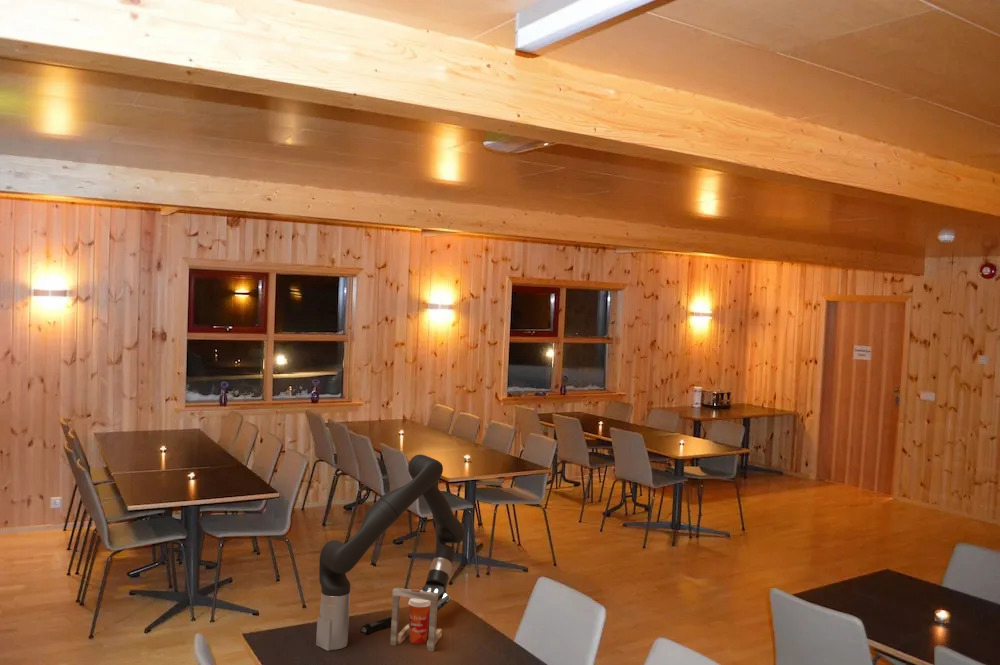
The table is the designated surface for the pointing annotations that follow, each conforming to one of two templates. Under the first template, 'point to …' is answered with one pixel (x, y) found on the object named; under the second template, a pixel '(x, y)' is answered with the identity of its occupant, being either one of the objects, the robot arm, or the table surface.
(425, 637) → the paper cup
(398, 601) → the guide arch
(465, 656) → the table surface
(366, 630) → the electric trimmer
